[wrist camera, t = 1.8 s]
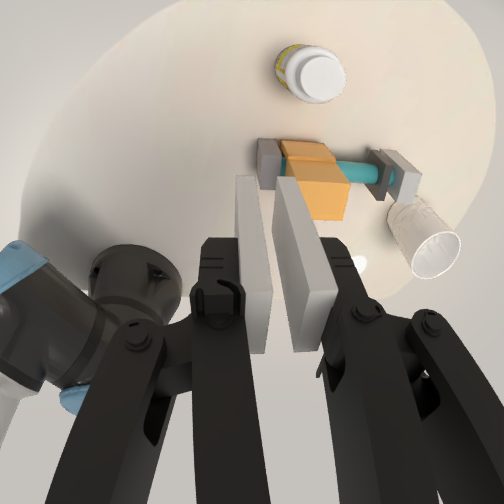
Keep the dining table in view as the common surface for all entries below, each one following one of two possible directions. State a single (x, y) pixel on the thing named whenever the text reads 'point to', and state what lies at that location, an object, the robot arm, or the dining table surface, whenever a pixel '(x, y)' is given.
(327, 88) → the supplement bottle
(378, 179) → the teal axle dumbbell
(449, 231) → the white cup
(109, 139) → the dining table surface
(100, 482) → the robot arm
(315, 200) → the sleeve
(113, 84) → the dining table surface
